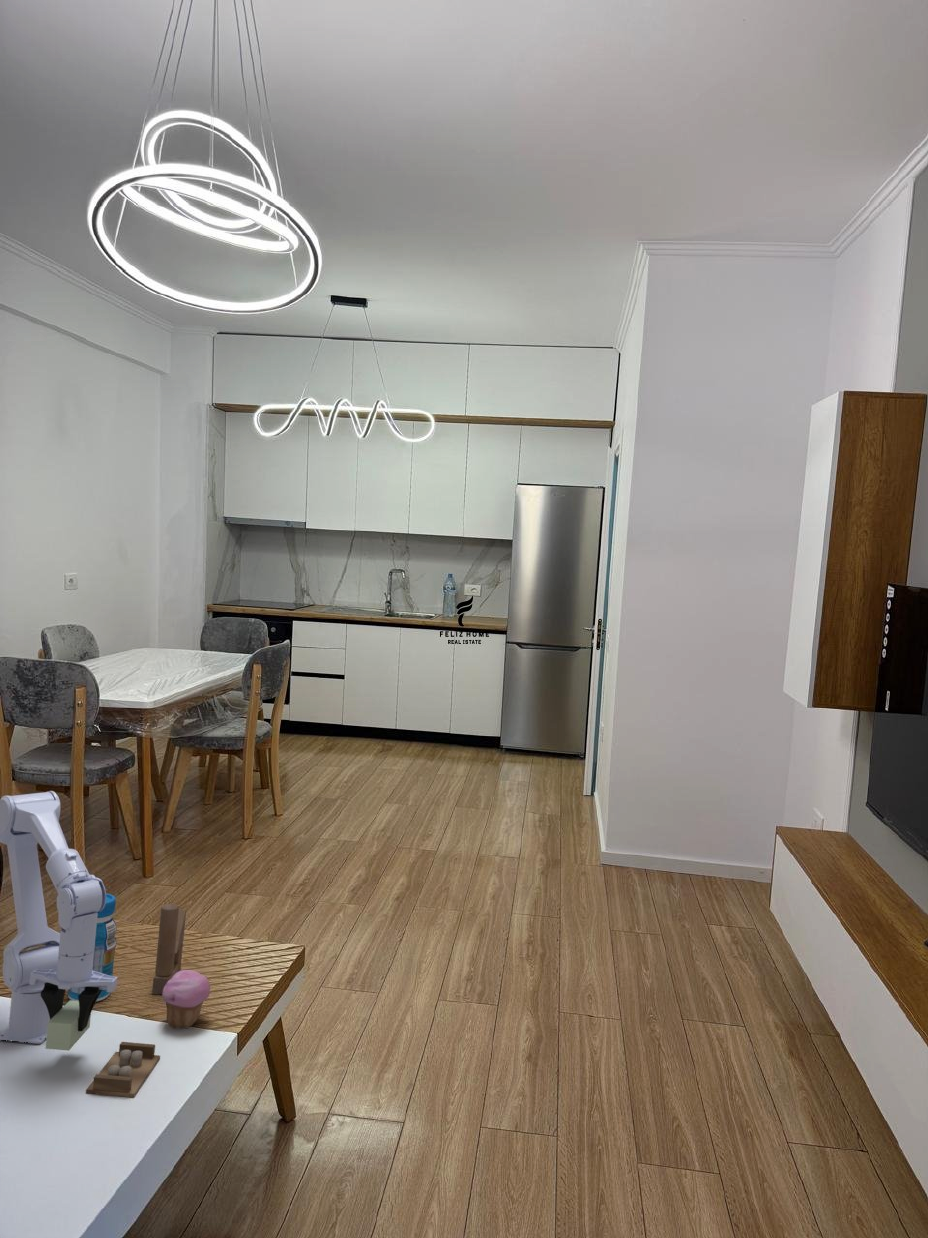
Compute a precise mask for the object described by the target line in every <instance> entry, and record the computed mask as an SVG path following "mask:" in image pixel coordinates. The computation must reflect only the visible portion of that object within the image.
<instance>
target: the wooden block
mask: <svg viewBox="0 0 928 1238" xmlns="http://www.w3.org/2000/svg"><path fill="white" fill-rule="evenodd" d="M186 916H187V909H180V906H179V904H176V903H166V904H163V905H161V907H160V916H159V917H160V919H159V927H158V928H159V930H158V936H157V937H158V939H157V947H156V949H157V950H156V960H155V971H154V974H155V975H154V976H153V981H152V989H151V990H152V991H151V994H152V995H162V993H163V989H164V987H165V985H166V984H167V982H168V981H169V980H170V979H171V978H172V977H173V976H174V975H175V974H176V973H177V972H179V971H182V970H181V969H182V958H183V947H184V946H183V945H184V943H183V942H184V939H185V938H184V937H185V930H186V929H185V928H186Z"/></svg>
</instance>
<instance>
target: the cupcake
mask: <svg viewBox="0 0 928 1238" xmlns="http://www.w3.org/2000/svg"><path fill="white" fill-rule="evenodd" d="M210 990H211V986H210V982H209V979H208V978H207V977H206V976H205V975H203V974H201V973H199V972H197V971H196V970H192V969H184V970H183V969H182V970H180V971H179V972H177V973H176V974H175V975H174V976H173V977H172V978H171V979H170V980H169V981H168V982H167V984H166V985H165V987H164V989H163V993H162V994H161V996H162V1001H164V1002H165V1005H166V1022H167V1025H168V1026H169V1027H171V1028H176V1027H179V1028H178V1029H181V1028H182V1029H183V1028H184V1029H187V1028H189V1027H191V1026H193V1025H194V1024H195V1023H196V1022H197V1021H198V1019H199V1017H200V1013H201V1010H202V1006H203V1003H204V1001H205V1000H207V999H208V998H209V997H210V993H211V991H210Z"/></svg>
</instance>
